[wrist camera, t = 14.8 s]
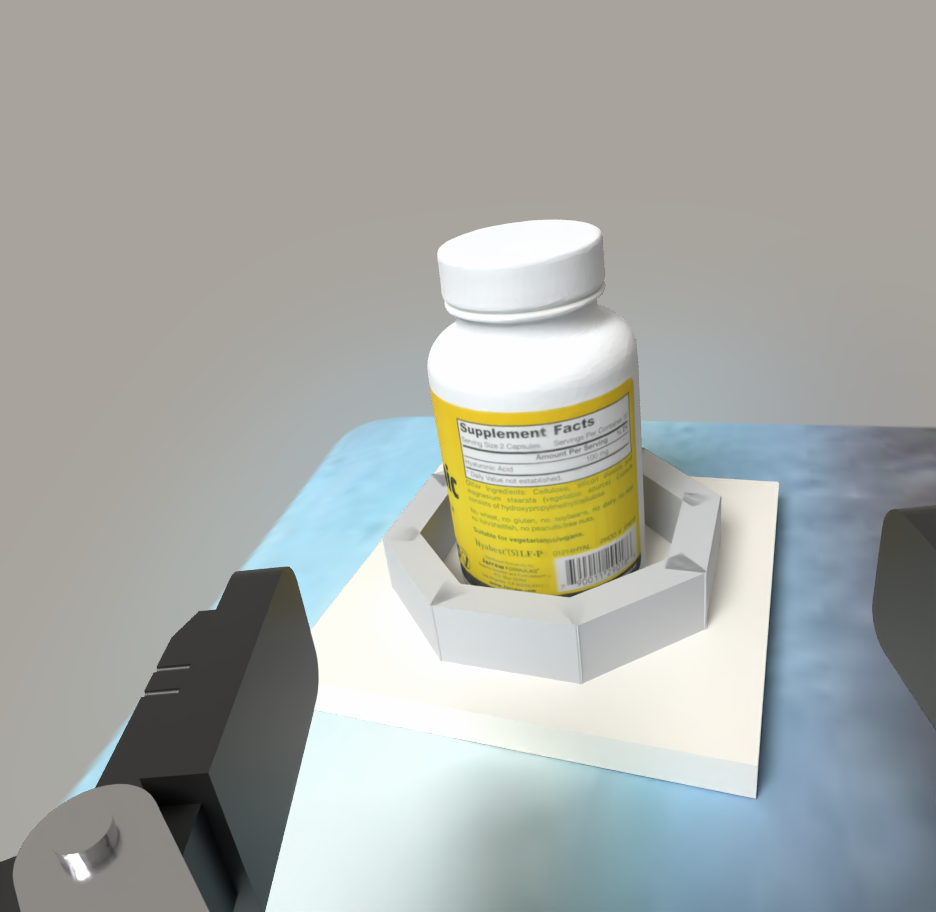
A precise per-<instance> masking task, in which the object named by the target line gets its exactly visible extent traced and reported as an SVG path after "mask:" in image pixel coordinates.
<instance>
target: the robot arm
mask: <svg viewBox="0 0 936 912" xmlns="http://www.w3.org/2000/svg"><path fill="white" fill-rule="evenodd" d="M872 613H873V622H874V627H875V631H876V635H877V638H878V640H879V643H880V645H881V647H882V649H883V651H884V653H885V654H886V656H887V657H888V659H889V660H890V662H891V663H892V665H893V666H894V668H895V669H896V671H897V672H898V674H899V675H900V677H901V679H902V680H903V682H904V683H905V685H906V686H907V688H908V689H909V691H910V692H911V694H912V695H913V697H914V698H915V700H916V701H917V703H918V704H919V706H920V707H921V709H922V710H923V712H924V714H925V715H926V717H927V718H928V720H929V721H930V723H931V724H932V726H933V727H934V729H935V730H936V505H933V506H923V507H913V508H902V509H893V510H890V511H889V512H888V513H887V514H886V516H885V519H884V522H883V527H882V534H881V541H880V549H879V557H878V564H877V572H876V580H875V587H874V595H873V604H872ZM318 685H319V671H318V660H317V654H316V650H315V646H314V642H313V638H312V635H311V631H310V627H309V624H308V620H307V616H306V612H305V609H304V605H303V601H302V598H301V594H300V590H299V587H298V583H297V579H296V576H295V574H294V572H293V570H292V569H291V568H290V567H278V568H267V569H257V570H247V571H237V572H235V573H234V574H233V575H232V576H231V578H230V580H229V582H228V584H227V587H226V589H225V591H224V593H223V595H222V598H221V600H220V602H219V604H218V606H217V609H216V610H208V611H199V612H198V613H197V614H196V615H195V616H194V617H193V618H191V620H190V621H188V622H187V623H186V624H185V625H184V626H183V628H181V629H180V630H179V631H178V632H177V633H176V634H175V635H174V636H173V637H172V638H171V640H170V642H169V644H168V646H167V648H166V650H165V652H164V654H163V655H162V658H161V660H160V661H159V663H158V665H157V672H155V673H153V675H152V677H151V679H150V681H149V683H148V685H147V687H146V689H145V697H141V699H140V701H139V703H138V705H137V707H136V709H135V711H134V713H133V715H132V717H131V718H130V720H129V722H128V724H127V726H126V728H125V730H124V732H123V734H122V736H121V738H120V740H119V742H118V744H117V746H116V748H115V750H114V752H113V754H112V756H111V758H110V760H109V762H108V764H107V766H106V768H105V770H104V772H103V774H102V776H101V778H100V779H99V781H98V783H97V785H96V787H95V788H94V789H91V790H89V791H86V792H83V793H81V794H79V795H77V796H75V797H73V798H71V799H69V800H68V801H66V802H65V803H63V804H61V805H60V806H58V807H57V808H56V809H54V810H53V811H52V812H50V813H49V814H48V815H47V816H46V817H45V818H44V819H43V820H42V821H40V822H39V824H38V825H37V826H36V827H35V828H34V829H33V830H32V831H31V832H30V834H29V835H28V837H27V838H26V840H25V841H24V842H23V844H22V846H21V848H20V850H19V852H18V854H17V856H15V857H12V858H10V859H7V860H5V861H2V862H0V912H265V910H266V906H267V901H268V897H269V893H270V889H271V885H272V881H273V877H274V873H275V869H276V864H277V860H278V856H279V852H280V848H281V844H282V840H283V836H284V831H285V827H286V823H287V819H288V815H289V811H290V807H291V803H292V799H293V794H294V790H295V786H296V782H297V778H298V774H299V770H300V766H301V761H302V757H303V753H304V749H305V745H306V741H307V737H308V733H309V729H310V724H311V720H312V716H313V712H314V708H315V704H316V700H317V694H318Z"/></svg>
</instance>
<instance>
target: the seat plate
mask: <svg viewBox="0 0 936 912" xmlns="http://www.w3.org/2000/svg"><path fill="white" fill-rule="evenodd" d="M642 470H643V493H644V518H645V555H646V559H645V568H643V569H640V570H638V571H635V572H633V573H630V574H628V575H625V576H623V577H620V578H618V579H615V580H613V581H610V582H608V583H605V584H603V585H600V586H598V587H595V588H593V589H590V590H588V591H585V592H583V593H580V594H578V595H575V596H573V597H570V598H569V597H561V596H553V595H545V594H537V593H529V592H522V591H514V590H506V589H498V588H490V587H482V586H474V585H466V584H465V581H464V579H463V575H462V571H461V566H460V561H459V556H458V550H457V544H456V539H455V532H454V526H453V520H452V514H451V508H450V501H449V496H448V490H447V484H446V479H445V473H444V468H443V462H442V464H441V465H440V466H439V468H438V469H437V470H436V471H435V473H434V474H432V475H431V476H430V478H429V479H428V480H427V481H426V483H425V484H424V485H423V486H422V488H421V489H420V490H419V492H418V493H417V494H416V495H415V497H414V498H413V499H412V500H411V502H410V503H409V504H408V506H407V507H406V508H405V509H404V511H403V512H402V513H401V514H400V516H399V517H398V518H397V520H396V521H395V522H394V523H393V525H392V526H391V527H390V528H389V530H388V531H387V532H386V534H385V535H384V536H383V537H382V540H381V541H380V543H379V544H378V545H377V547H376V548H375V549H374V550H373V552H372V553H371V554H370V555H369V557H368V558H367V559H366V561H365V562H364V563H363V564H362V566H361V567H360V568H359V569H358V571H357V572H356V573H355V575H354V576H353V577H352V578H351V580H350V581H349V582H348V584H347V585H346V586H345V587H344V589H343V590H342V591H341V592H340V594H339V595H338V596H337V598H336V599H335V600H334V601H333V603H332V604H331V605H330V606H329V608H328V609H327V610H326V612H325V613H324V614H323V615H322V617H321V618H320V619H319V620H318V622H317V623H316V624H315V626H314V627H313V628H312V629H311V635H312V638H313V642H314V646H315V650H316V654H317V660H318V671H319V685H318V694H317V700H316V704H315V708H314V710H318V711H323V712H328V713H333V714H338V715H342V716H347V717H352V718H357V719H362V720H367V721H372V722H377V723H382V724H387V725H392V726H397V727H402V728H407V729H412V730H417V731H422V732H427V733H432V734H437V735H442V736H447V737H452V738H457V739H462V740H467V741H472V742H477V743H481V744H486V745H491V746H496V747H501V748H506V749H511V750H516V751H521V752H526V753H531V754H536V755H541V756H546V757H551V758H556V759H561V760H566V761H571V762H576V763H581V764H586V765H591V766H596V767H601V768H606V769H611V770H616V771H620V772H625V773H630V774H635V775H640V776H645V777H650V778H655V779H660V780H665V781H670V782H675V783H680V784H685V785H690V786H695V787H700V788H705V789H710V790H715V791H720V792H725V793H730V794H735V795H740V796H745V797H750V798H755V799H756V791H757V778H758V764H759V751H760V737H761V724H762V710H763V697H764V683H765V670H766V656H767V643H768V629H769V616H770V602H771V589H772V575H773V562H774V548H775V535H776V521H777V508H778V491H779V482H769V481H754V480H739V479H724V478H709V477H694V476H688V475H686V474H685V473H683V472H682V471H680V470H678V469H677V468H675V467H674V466H672V465H670V464H669V463H667V462H665V461H664V460H662V459H661V458H659V457H657V456H656V455H654V454H653V453H651V452H649V451H648V450H646V449H644V448H643V447H642Z"/></svg>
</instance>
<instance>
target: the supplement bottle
mask: <svg viewBox="0 0 936 912" xmlns="http://www.w3.org/2000/svg"><path fill="white" fill-rule="evenodd" d="M437 257H438V265H439V273H440V280H441V292H442V296H443V299H444V300H445V307H446V309H447V311H448V312H449V313H450V314H452V315H453V316H455V317H456V322H455V323H453V324H451V325H450V326H449V327H448V328H446V329H445V330H444V331H443V332H442V333H441V334H440V335H439V337H438V338H437V339H436V341H435V342H434V344H433V346H432V348H431V350H430V353H429V357H428V376H429V384H430V390H431V397H432V403H433V409H434V415H435V421H436V426H437V432H438V437H439V443H440V449H441V455H442V461H443V468H444V473H445V479H446V484H447V490H448V496H449V501H450V508H451V514H452V520H453V526H454V532H455V539H456V544H457V550H458V556H459V561H460V566H461V571H462V575H463V579H464V581H465V584H466V585H474V586H482V587H490V588H498V589H506V590H514V591H522V592H529V593H537V594H545V595H553V596H561V597H569V598H570V597H573V596H575V595H578V594H580V593H583V592H585V591H588V590H590V589H593V588H595V587H598V586H600V585H603V584H605V583H608V582H610V581H613V580H615V579H618V578H620V577H623V576H625V575H628V574H630V573H633V572H635V571H638V570H640V569H643V568H645V559H646V555H645V518H644V493H643V470H642V445H641V420H640V398H639V374H638V373H639V372H638V355H637V344H636V339H635V336H634V333H633V331H632V329H631V328H630V326H629V324H628V323H627V322H626V321H625V320H624V319H623V318H622V317H621V316H619V315H618V314H617V313H616V312H614V311H612V310H610V309H608V308H606V307H604V306H601V305H598V304H597V298H599V297H600V296H601V295H602V294H603V292H604V290H605V282H604V278H605V268H604V252H603V237H602V234H601V231H600V230H599V229H598V228H597V227H596V226H594V225H591V224H588V223H585V222H580V221H570V220H535V221H534V220H533V221H525V222H517V223H510V224H503V225H497V226H492V227H487V228H483V229H479V230H476V231H472V232H469V233H466V234H463V235H460V236H458V237H456V238H454V239H452V240H449V241H447V242H446V243H445V244H444V245H442V246H441V247H440V248H439V251H438V255H437Z"/></svg>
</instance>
